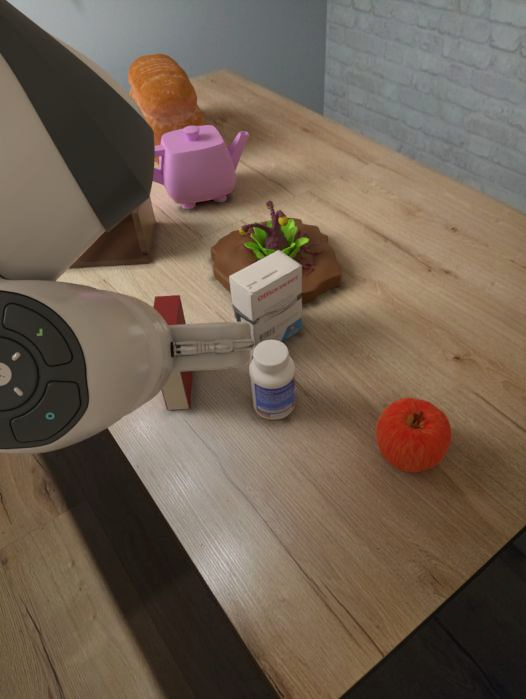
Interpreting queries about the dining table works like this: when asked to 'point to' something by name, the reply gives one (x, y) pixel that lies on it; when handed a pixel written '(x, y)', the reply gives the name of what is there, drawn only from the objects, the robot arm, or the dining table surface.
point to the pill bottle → (272, 380)
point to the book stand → (123, 241)
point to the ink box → (269, 297)
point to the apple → (413, 434)
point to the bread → (163, 95)
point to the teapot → (198, 164)
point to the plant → (289, 239)
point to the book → (178, 382)
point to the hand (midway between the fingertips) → (151, 346)
